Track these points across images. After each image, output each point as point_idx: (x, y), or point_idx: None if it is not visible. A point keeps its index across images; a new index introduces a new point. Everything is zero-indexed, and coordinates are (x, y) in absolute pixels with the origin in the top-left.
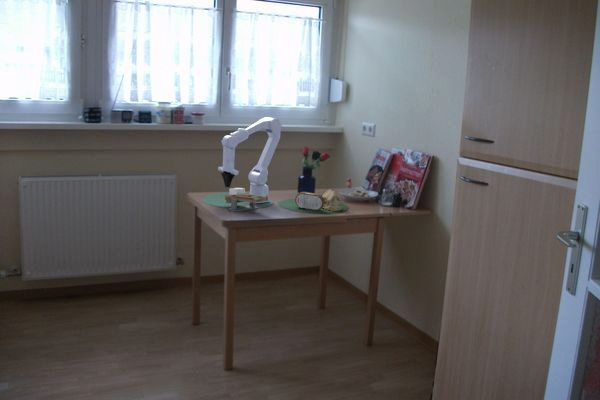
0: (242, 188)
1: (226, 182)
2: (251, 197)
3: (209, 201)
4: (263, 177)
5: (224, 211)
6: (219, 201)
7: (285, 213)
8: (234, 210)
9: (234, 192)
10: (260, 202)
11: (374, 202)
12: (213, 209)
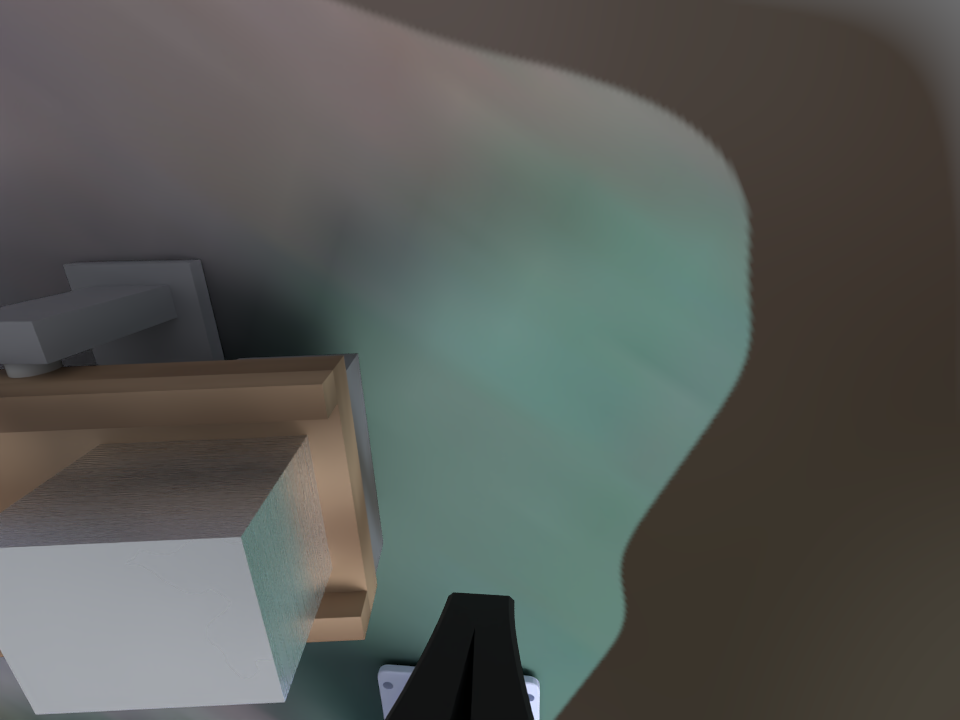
0: (35, 680)
1: (399, 701)
2: None
3: (746, 312)
4: None
5: (104, 138)
6: (665, 432)
7: None
8: (70, 264)
9: (102, 494)
10: (385, 712)
11: None
12: (250, 49)
